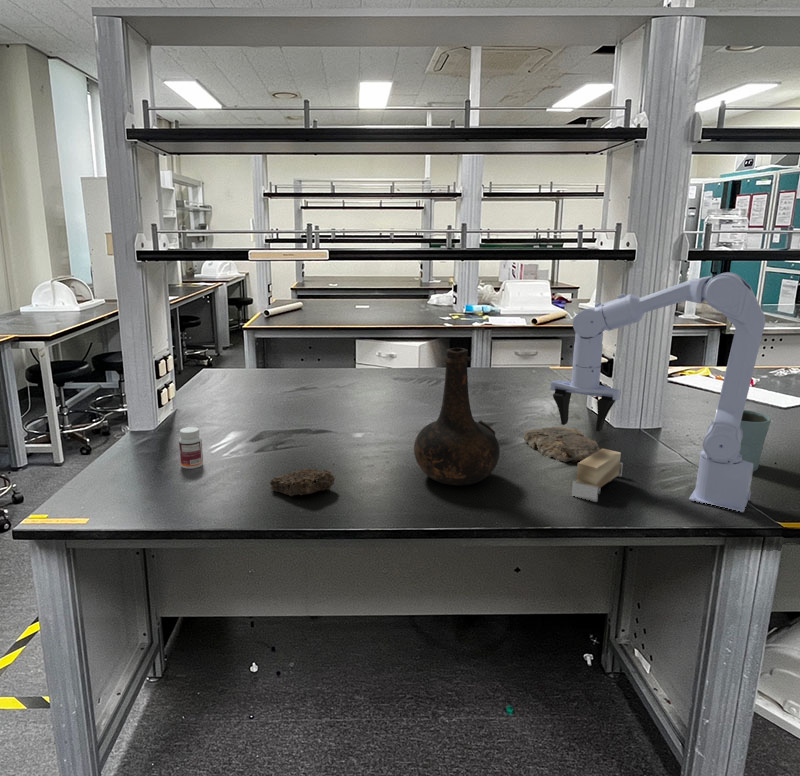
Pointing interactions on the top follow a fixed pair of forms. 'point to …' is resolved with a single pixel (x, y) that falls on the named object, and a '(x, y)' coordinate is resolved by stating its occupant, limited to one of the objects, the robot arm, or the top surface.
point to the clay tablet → (561, 443)
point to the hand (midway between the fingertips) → (581, 426)
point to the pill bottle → (190, 448)
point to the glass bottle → (456, 433)
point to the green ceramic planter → (753, 436)
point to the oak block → (599, 468)
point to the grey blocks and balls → (589, 489)
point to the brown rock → (303, 482)
